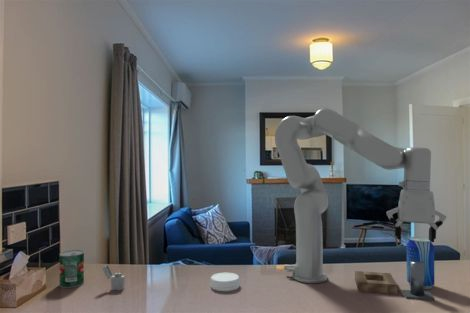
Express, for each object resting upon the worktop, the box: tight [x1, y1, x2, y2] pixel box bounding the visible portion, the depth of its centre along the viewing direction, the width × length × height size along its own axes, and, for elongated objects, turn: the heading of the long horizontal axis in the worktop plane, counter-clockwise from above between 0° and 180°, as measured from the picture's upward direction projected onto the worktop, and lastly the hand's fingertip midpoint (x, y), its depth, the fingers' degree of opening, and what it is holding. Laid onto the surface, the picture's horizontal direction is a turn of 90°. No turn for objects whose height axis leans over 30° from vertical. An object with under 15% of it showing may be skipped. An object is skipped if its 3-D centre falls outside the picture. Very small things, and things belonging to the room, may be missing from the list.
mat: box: [401, 289, 436, 301], centre depth 114 cm, size 8×6×1 cm
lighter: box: [102, 264, 126, 291], centre depth 121 cm, size 7×2×8 cm, turn 88°
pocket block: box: [354, 270, 398, 295], centre depth 122 cm, size 12×12×3 cm
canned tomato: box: [58, 249, 85, 289], centre depth 126 cm, size 8×8×11 cm
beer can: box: [406, 236, 435, 290], centre depth 123 cm, size 8×8×16 cm
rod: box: [409, 260, 425, 296], centre depth 114 cm, size 4×4×10 cm
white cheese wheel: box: [210, 272, 241, 292], centre depth 123 cm, size 10×10×4 cm
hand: (414, 239), depth 114 cm, fingers open, 9 cm apart
